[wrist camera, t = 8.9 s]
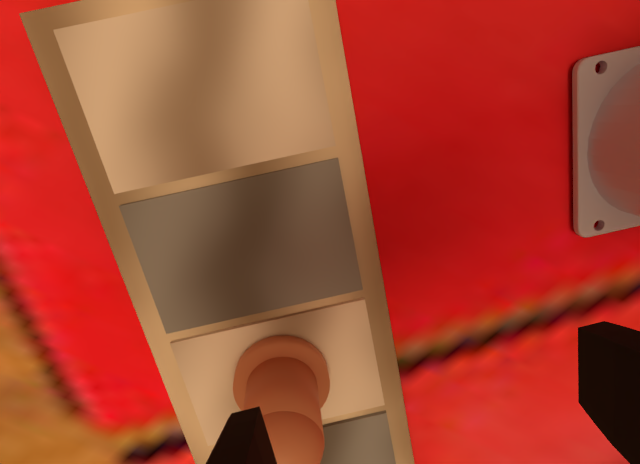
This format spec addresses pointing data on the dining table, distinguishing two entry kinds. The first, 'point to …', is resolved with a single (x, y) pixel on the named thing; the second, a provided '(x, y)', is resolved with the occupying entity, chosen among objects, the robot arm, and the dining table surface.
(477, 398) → the dining table surface
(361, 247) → the board
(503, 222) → the dining table surface
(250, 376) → the pawn
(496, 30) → the dining table surface
